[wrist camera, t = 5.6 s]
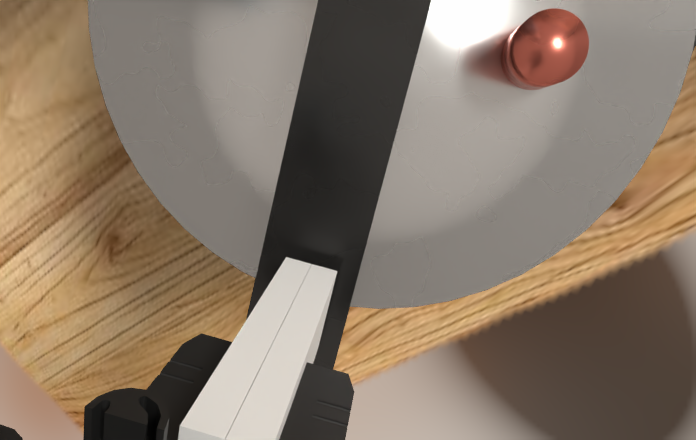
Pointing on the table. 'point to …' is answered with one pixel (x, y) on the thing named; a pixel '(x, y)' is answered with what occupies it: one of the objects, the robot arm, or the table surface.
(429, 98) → the lid
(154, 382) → the robot arm
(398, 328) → the table surface
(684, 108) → the table surface
